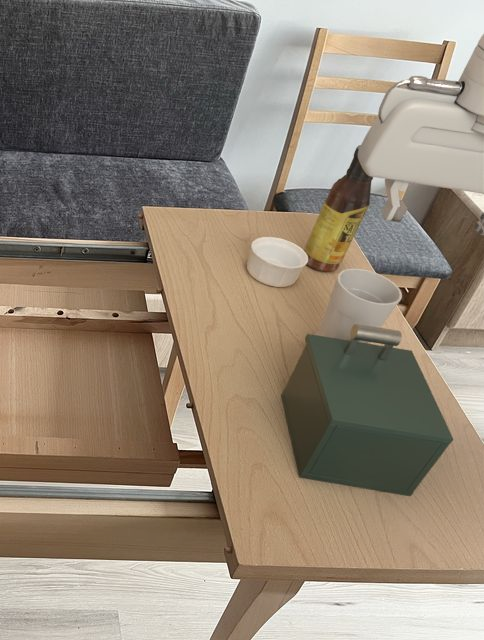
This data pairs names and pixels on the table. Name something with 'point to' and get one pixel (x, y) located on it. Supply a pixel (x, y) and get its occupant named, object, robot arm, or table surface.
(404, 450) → the trash can
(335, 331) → the cup
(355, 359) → the bin lid
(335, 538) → the table surface
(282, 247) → the ramekin
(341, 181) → the sauce bottle
